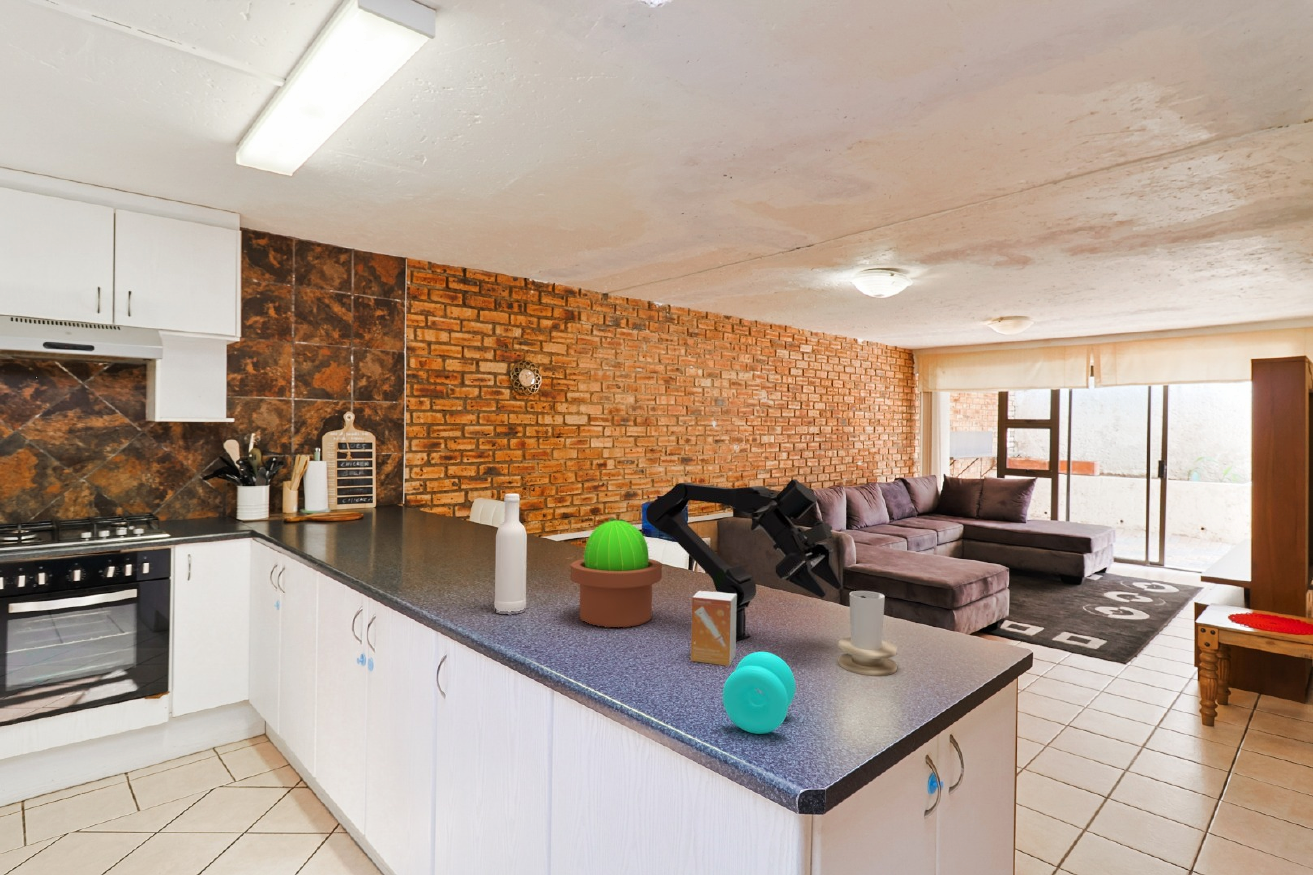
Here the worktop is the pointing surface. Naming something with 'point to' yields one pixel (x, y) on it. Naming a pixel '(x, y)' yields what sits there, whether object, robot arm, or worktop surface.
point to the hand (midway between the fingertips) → (832, 592)
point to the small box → (713, 627)
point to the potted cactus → (616, 576)
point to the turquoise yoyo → (750, 704)
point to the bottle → (511, 559)
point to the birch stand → (868, 659)
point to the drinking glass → (866, 619)
